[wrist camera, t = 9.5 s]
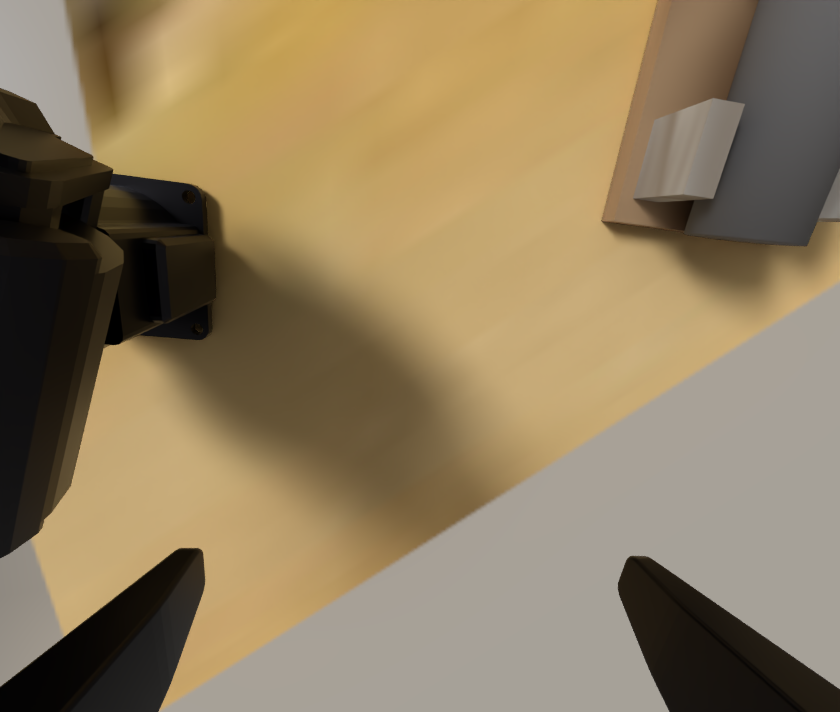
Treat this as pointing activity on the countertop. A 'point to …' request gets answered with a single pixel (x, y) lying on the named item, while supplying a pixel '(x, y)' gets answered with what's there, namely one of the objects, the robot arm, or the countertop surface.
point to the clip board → (684, 115)
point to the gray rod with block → (780, 129)
